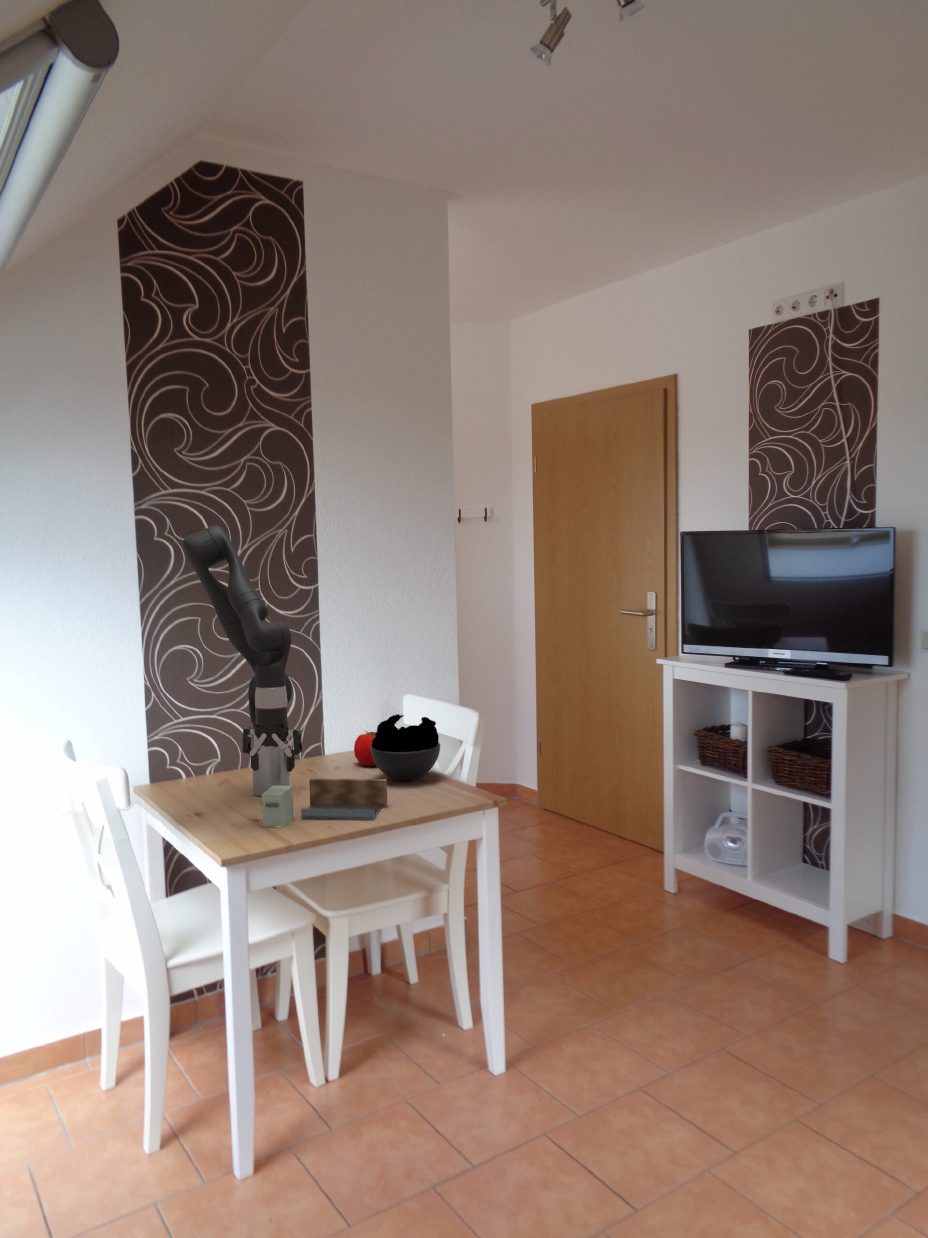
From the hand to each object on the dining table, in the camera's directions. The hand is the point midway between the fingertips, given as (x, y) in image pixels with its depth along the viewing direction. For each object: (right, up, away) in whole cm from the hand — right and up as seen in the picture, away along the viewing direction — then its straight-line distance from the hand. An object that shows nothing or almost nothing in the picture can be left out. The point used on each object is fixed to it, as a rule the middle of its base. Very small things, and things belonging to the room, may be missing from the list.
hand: (272, 770), depth 220 cm
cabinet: (+1, -13, +1) cm, 13 cm away
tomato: (+18, -8, +59) cm, 63 cm away
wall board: (+17, -11, +14) cm, 24 cm away
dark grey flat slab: (+16, -12, +7) cm, 21 cm away
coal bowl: (+30, -9, +40) cm, 51 cm away
